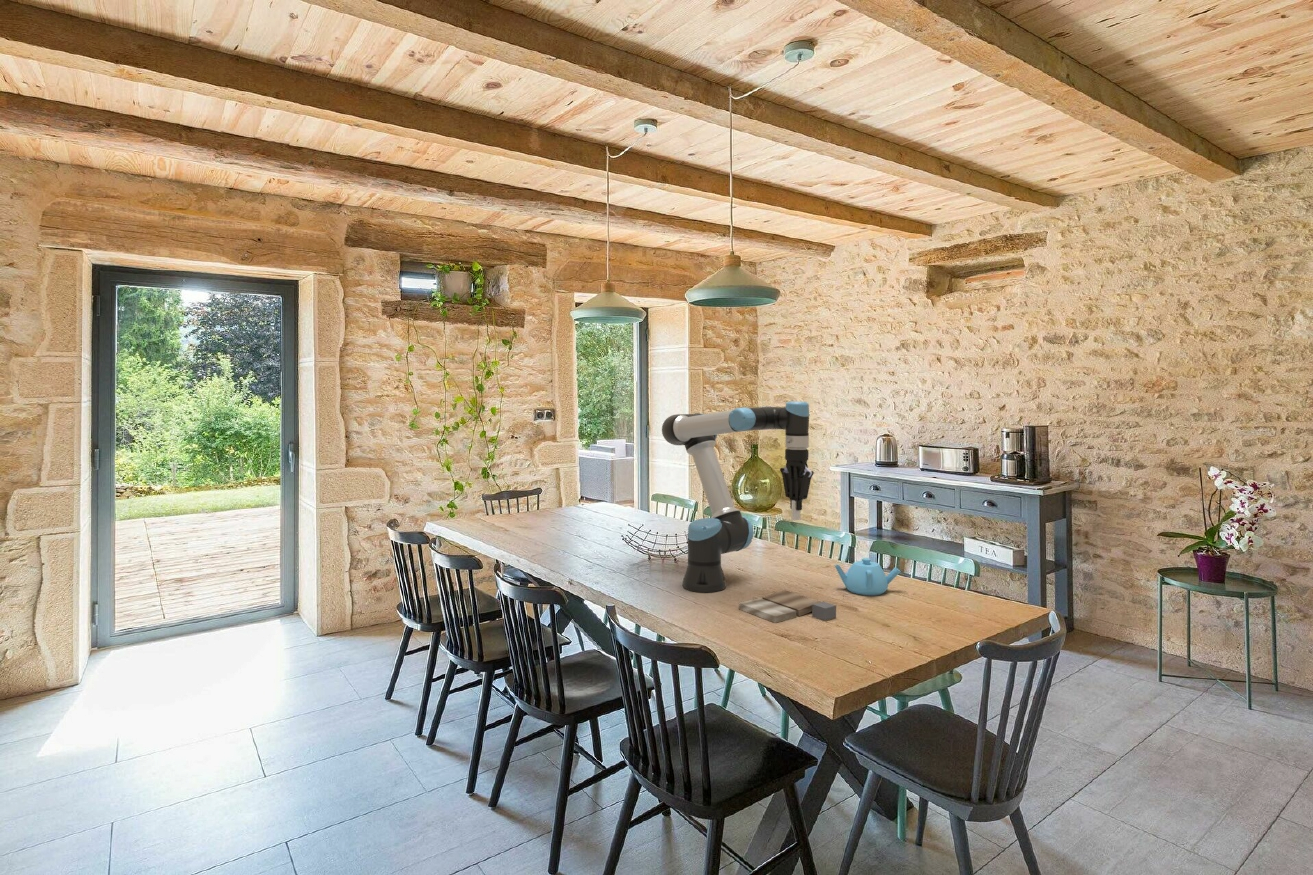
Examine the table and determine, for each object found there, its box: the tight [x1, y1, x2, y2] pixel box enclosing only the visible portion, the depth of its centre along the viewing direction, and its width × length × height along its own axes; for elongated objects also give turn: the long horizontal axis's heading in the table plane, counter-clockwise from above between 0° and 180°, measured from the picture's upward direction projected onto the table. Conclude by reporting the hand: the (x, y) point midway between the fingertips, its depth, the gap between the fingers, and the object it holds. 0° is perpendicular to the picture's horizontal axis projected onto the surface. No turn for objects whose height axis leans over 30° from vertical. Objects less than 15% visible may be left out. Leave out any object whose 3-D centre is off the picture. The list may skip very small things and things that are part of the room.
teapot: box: [834, 557, 902, 596], centre depth 241 cm, size 15×17×11 cm
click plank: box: [761, 589, 822, 617], centre depth 223 cm, size 16×10×2 cm, turn 35°
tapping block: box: [811, 601, 837, 622], centre depth 213 cm, size 5×5×4 cm
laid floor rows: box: [738, 597, 797, 624], centre depth 217 cm, size 16×9×2 cm, turn 35°
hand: (795, 519), depth 230 cm, fingers closed
